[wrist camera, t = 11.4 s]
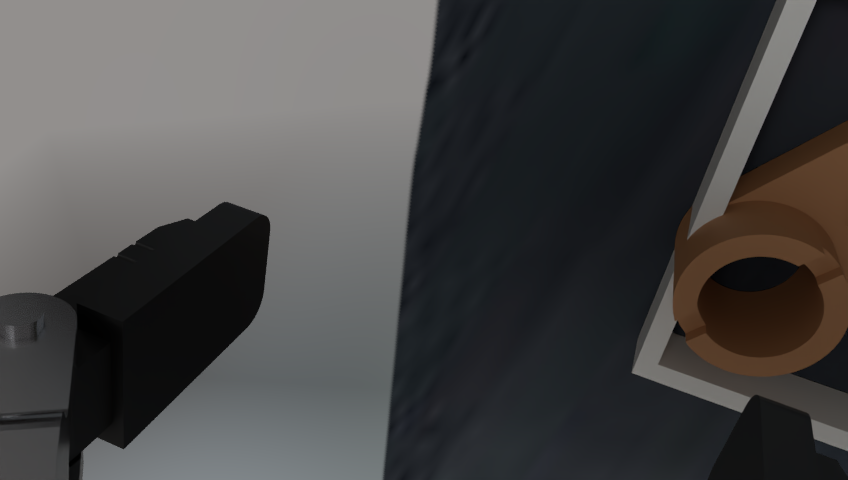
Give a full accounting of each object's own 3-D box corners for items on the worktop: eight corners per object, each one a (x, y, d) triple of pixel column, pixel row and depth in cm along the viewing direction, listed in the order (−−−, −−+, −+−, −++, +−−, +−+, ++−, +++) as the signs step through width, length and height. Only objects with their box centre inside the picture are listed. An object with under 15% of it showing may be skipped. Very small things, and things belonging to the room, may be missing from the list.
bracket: (721, 329, 48) (725, 398, 42) (648, 224, 46) (642, 280, 40) (1054, 188, 39) (1119, 249, 33) (978, 52, 37) (1032, 91, 31)
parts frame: (1125, 24, 35) (1167, 42, 32) (870, 419, 47) (881, 463, 44) (798, -54, 38) (805, -45, 34) (637, 337, 50) (631, 372, 47)
